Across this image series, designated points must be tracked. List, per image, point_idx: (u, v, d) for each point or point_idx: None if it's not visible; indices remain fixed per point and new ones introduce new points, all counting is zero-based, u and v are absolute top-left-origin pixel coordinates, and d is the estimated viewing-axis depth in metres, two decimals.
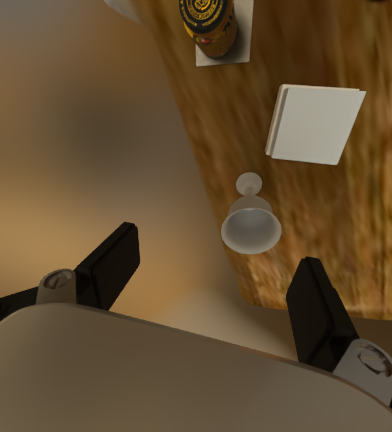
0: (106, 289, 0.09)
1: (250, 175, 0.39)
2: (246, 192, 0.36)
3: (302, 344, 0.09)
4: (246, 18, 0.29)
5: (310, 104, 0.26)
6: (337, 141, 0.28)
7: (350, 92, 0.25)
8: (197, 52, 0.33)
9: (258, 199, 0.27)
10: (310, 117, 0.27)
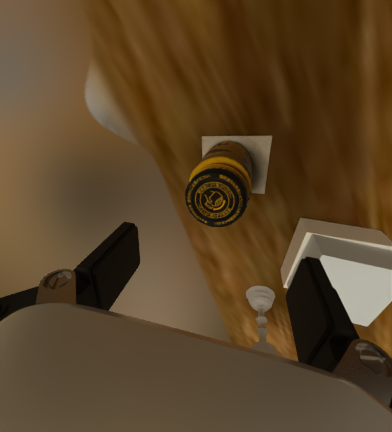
0: (106, 289, 0.09)
1: (262, 290, 0.35)
2: (258, 320, 0.32)
3: (302, 344, 0.09)
4: (262, 154, 0.25)
5: (346, 274, 0.22)
6: (372, 308, 0.24)
7: None
8: None
9: None
10: (343, 284, 0.23)
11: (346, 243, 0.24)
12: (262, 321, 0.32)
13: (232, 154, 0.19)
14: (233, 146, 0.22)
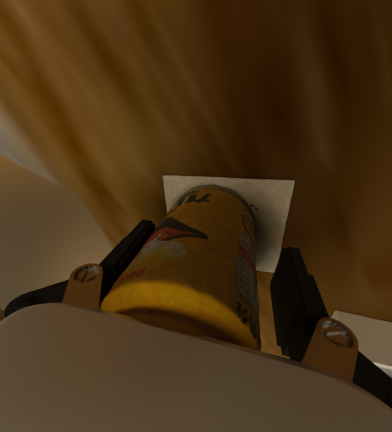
0: None
1: None
2: None
3: (280, 327, 0.09)
4: (274, 211, 0.13)
5: None
6: None
7: None
8: None
9: None
10: None
11: None
12: None
13: (208, 257, 0.07)
14: (217, 209, 0.10)
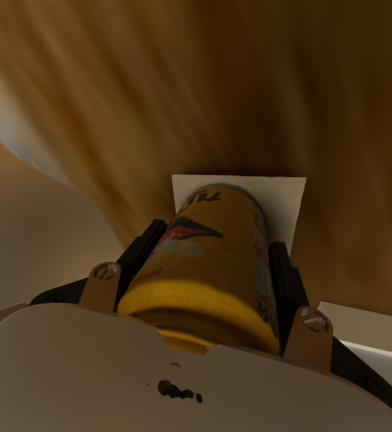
0: None
1: None
2: None
3: None
4: (285, 208, 0.13)
5: None
6: None
7: None
8: None
9: None
10: None
11: None
12: None
13: (225, 256, 0.07)
14: (229, 207, 0.10)
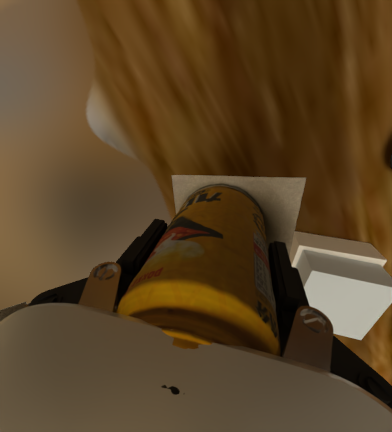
0: None
1: None
2: None
3: None
4: (284, 209, 0.13)
5: (336, 288, 0.23)
6: (363, 322, 0.24)
7: (383, 287, 0.22)
8: None
9: None
10: (334, 298, 0.24)
11: (336, 258, 0.25)
12: None
13: (225, 256, 0.07)
14: (229, 208, 0.10)
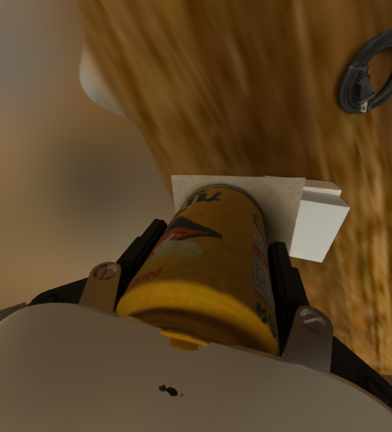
0: None
1: None
2: None
3: None
4: (284, 209, 0.13)
5: None
6: (322, 243, 0.28)
7: (334, 206, 0.25)
8: None
9: None
10: (296, 222, 0.27)
11: None
12: None
13: (224, 256, 0.07)
14: (228, 208, 0.10)
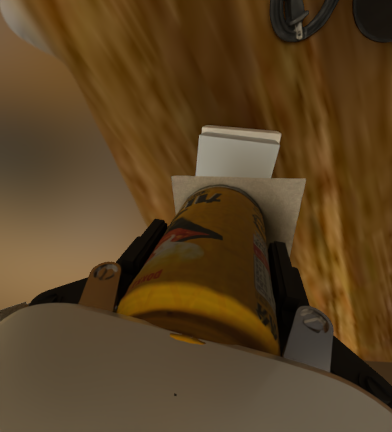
0: None
1: None
2: None
3: None
4: (284, 210, 0.13)
5: (224, 154, 0.24)
6: None
7: (263, 144, 0.22)
8: None
9: None
10: (226, 167, 0.24)
11: (233, 135, 0.26)
12: None
13: (225, 258, 0.07)
14: (229, 209, 0.10)
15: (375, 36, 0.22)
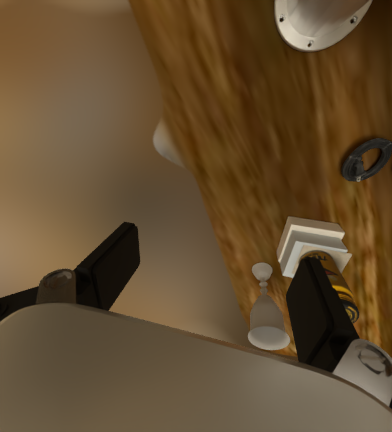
0: (106, 289, 0.09)
1: (263, 266, 0.51)
2: (261, 284, 0.48)
3: (302, 344, 0.09)
4: (342, 262, 0.38)
5: None
6: None
7: (337, 249, 0.37)
8: (295, 267, 0.41)
9: (273, 310, 0.39)
10: None
11: (312, 234, 0.41)
12: (263, 284, 0.48)
13: (342, 280, 0.32)
14: (332, 264, 0.35)
15: None
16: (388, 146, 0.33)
